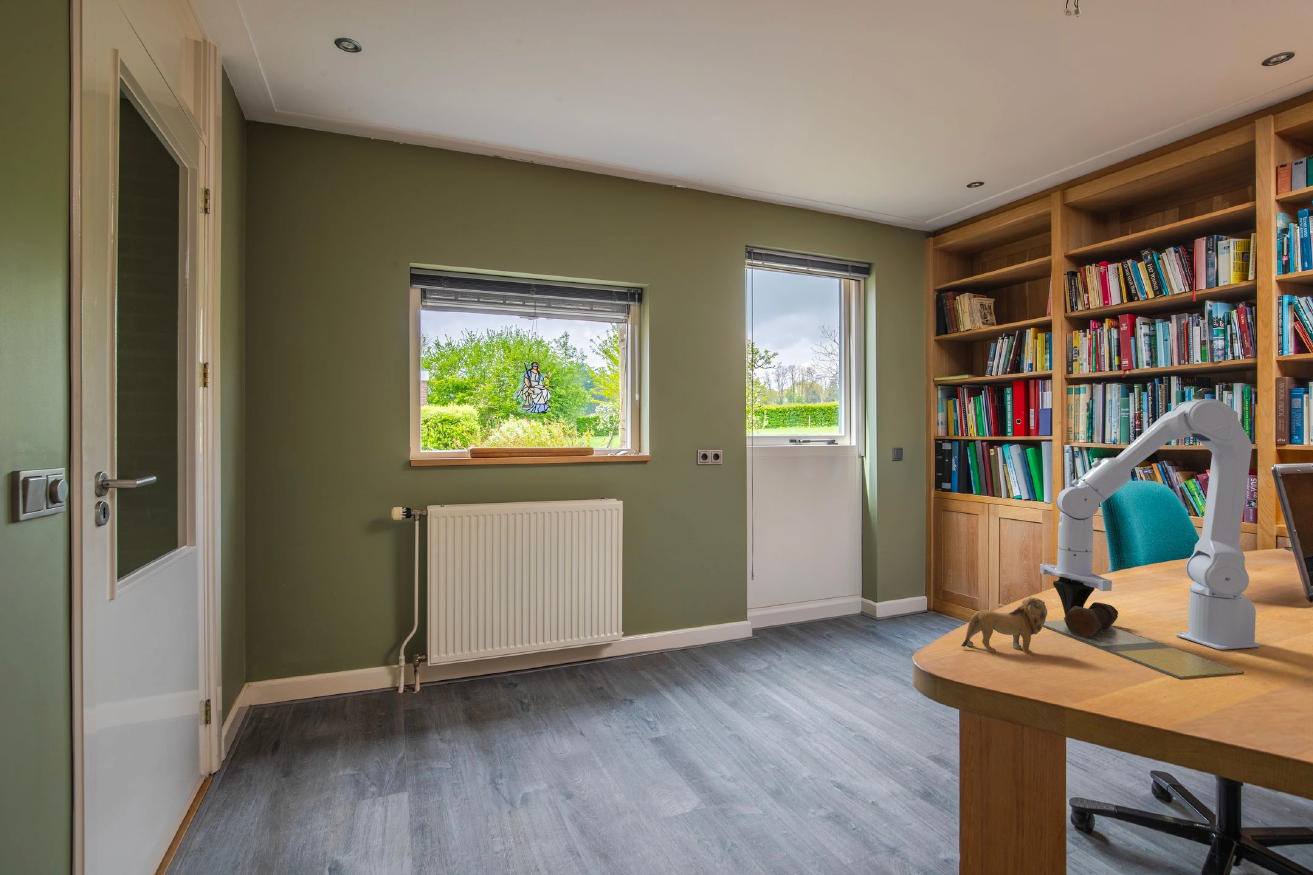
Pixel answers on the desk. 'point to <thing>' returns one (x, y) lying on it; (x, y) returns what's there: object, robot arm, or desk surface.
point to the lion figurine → (1009, 624)
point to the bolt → (1090, 619)
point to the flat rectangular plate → (1148, 652)
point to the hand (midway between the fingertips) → (1072, 618)
